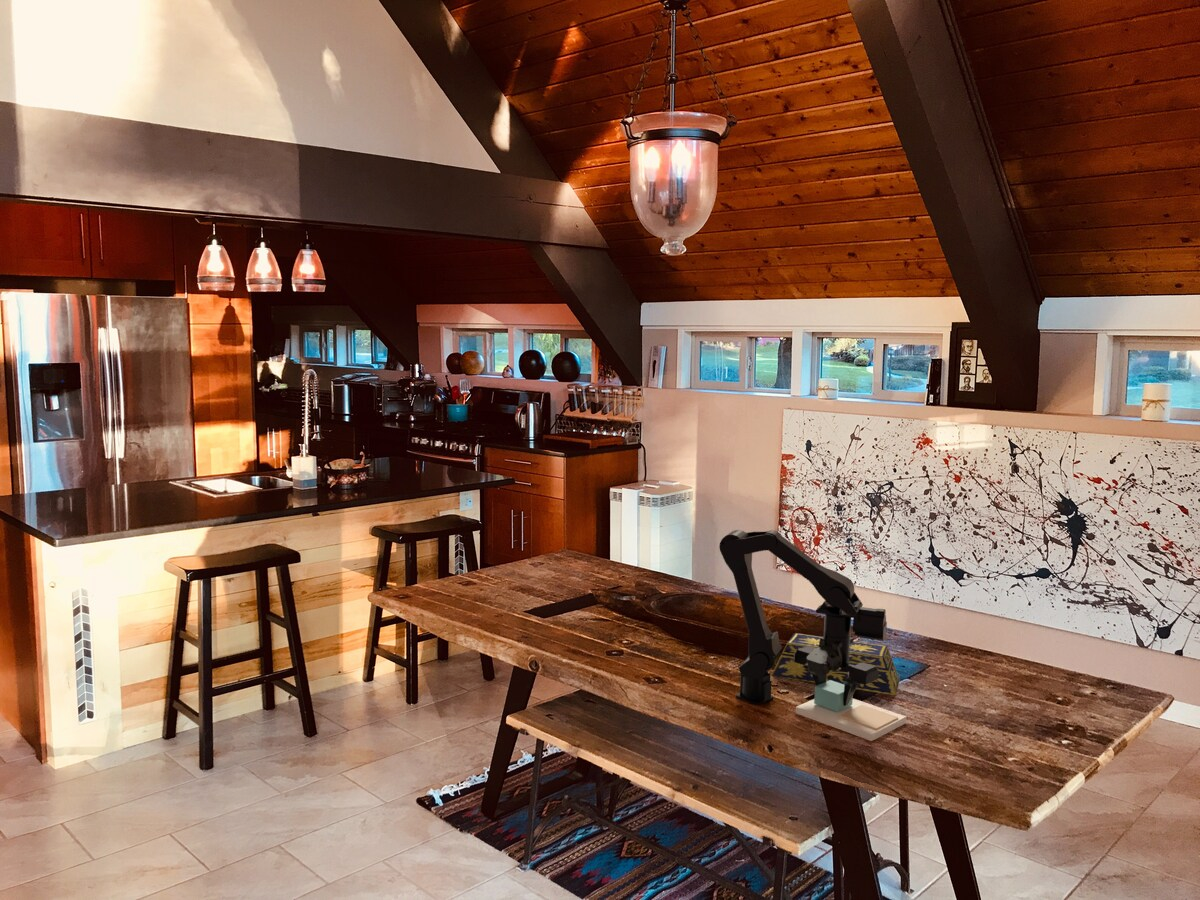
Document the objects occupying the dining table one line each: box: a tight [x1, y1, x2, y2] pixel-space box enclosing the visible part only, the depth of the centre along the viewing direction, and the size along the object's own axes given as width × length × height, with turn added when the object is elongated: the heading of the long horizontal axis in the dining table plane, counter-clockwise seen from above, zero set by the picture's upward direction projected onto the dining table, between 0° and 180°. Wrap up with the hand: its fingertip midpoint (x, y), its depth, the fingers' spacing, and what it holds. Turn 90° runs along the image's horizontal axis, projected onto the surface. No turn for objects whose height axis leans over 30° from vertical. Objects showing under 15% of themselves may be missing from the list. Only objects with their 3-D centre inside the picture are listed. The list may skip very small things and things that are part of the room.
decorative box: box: [771, 632, 900, 696], centre depth 234 cm, size 11×30×9 cm, turn 68°
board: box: [795, 698, 907, 742], centre depth 210 cm, size 19×14×5 cm
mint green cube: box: [813, 680, 854, 712], centre depth 213 cm, size 6×6×4 cm
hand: (833, 701), depth 214 cm, fingers closed on mint green cube, 6 cm apart
